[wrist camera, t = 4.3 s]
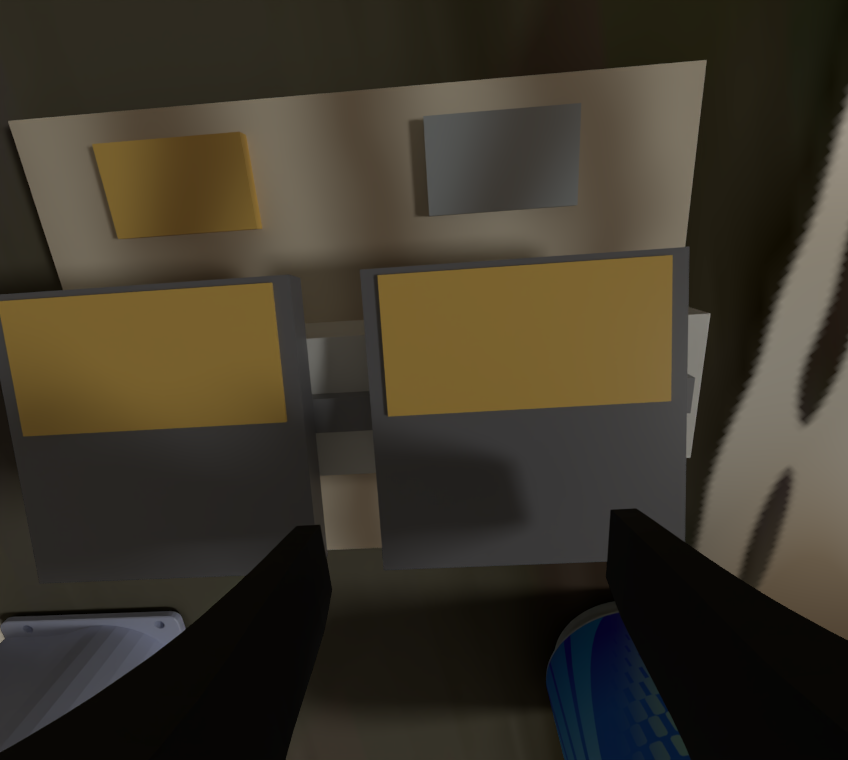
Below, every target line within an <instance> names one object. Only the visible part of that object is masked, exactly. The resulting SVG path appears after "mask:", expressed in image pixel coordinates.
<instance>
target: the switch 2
mask: <svg viewBox="0 0 848 760" xmlns="http://www.w3.org/2000/svg"><path fill="white" fill-rule="evenodd" d="M360 279H361V292H362V304H363V317H364V329H365V342H366V354H367V367H368V379H369V392H370V404H371V417H372V429H373V442H374V454H375V467H376V479H377V492H378V504H379V517H380V529H381V542H382V554H383V567H384V570H400V569H425V568H451V567H476V566H502V565H528V564H553V563H579V562H604V561H607V555H608V540H609V525H610V510H614V509H633V508H636V509H638V510H639V511H641V512H643V513H644V514H645V515H647V516H648V517H650V518H651V519H653V520H654V521H656V522H657V523H658V524H660V525H661V526H663V527H664V528H665V529H667V530H668V531H670V532H671V533H673V534H674V535H675V536H677V537H678V538H680V539H681V540H682V541H684V542H685V500H686V433H687V367H688V301H689V247H678V248H664V249H650V250H635V251H621V252H606V253H592V254H577V255H563V256H548V257H534V258H520V259H505V260H491V261H476V262H462V263H447V264H433V265H419V266H404V267H390V268H375V269H361V270H360Z"/></svg>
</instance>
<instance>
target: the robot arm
mask: <svg viewBox="0 0 848 760" xmlns="http://www.w3.org/2000/svg"><path fill="white" fill-rule="evenodd" d="M606 579H607V581H608V584H609V587H610V590H611V593H612V595H613V598H614V601H615V603H616V606H617V609H618V611H619V614H620V616H621V619H622V621H623V623H624V625H625V627H626V629H627V631H628V633H629V635H630V637H631V639H632V641H633V643H634V645H635V647H636V649H637V651H638V653H639V655H640V657H641V659H642V661H643V663H644V665H645V667H646V669H647V671H648V672H649V674H650V676H651V678H652V680H653V682H654V684H655V686H656V688H657V690H658V692H659V694H660V696H661V698H662V700H663V702H664V704H665V706H666V708H667V710H668V711H669V713H670V715H671V717H672V719H673V721H674V723H675V726H676V728H677V730H678V732H679V734H680V736H681V738H682V740H683V743H684V745H685V747H686V749H687V752H688V754H689V757H690V759H691V760H848V640H846V639H844V638H842V637H840V636H838V635H836V634H834V633H832V632H830V631H828V630H827V629H825V628H823V627H821V626H819V625H818V624H816V623H814V622H812V621H810V620H808V619H806V618H805V617H803V616H801V615H799V614H797V613H796V612H794V611H792V610H790V609H788V608H787V607H785V606H783V605H781V604H780V603H778V602H776V601H775V600H773V599H771V598H770V597H768V596H766V595H765V594H763V593H761V592H760V591H758V590H757V589H755V588H753V587H752V586H750V585H749V584H747V583H745V582H744V581H742V580H740V579H739V578H737V577H736V576H734V575H733V574H731V573H730V572H728V571H726V570H725V569H723V568H722V567H720V566H719V565H717V564H716V563H714V562H713V561H711V560H710V559H708V558H707V557H706V556H704V555H703V554H701V553H700V552H698V551H697V550H695V549H694V548H692V547H691V546H690V545H688V544H687V543H685V542H684V541H682V540H681V539H680V538H678V537H677V536H675V535H674V534H673V533H671V532H670V531H668V530H667V529H665V528H664V527H663V526H661V525H660V524H658V523H657V522H656V521H654V520H653V519H651V518H650V517H648V516H647V515H645V514H644V513H643V512H641V511H639V510H638V509H636V508H633V509H614V510H610V525H609V540H608V555H607V570H606ZM331 593H332V586H331V581H330V575H329V570H328V564H327V559H326V553H325V548H324V542H323V537H322V531H321V526H320V525H303V526H296V527H295V528H294V529H293V530H292V531H291V532H290V533H289V534H288V535H287V536H286V537H285V538H284V539H283V540H282V541H281V542H280V543H279V544H278V545H277V546H276V547H275V548H274V549H273V550H272V551H271V552H270V553H269V554H268V555H267V556H266V557H265V558H264V559H263V560H262V561H261V562H260V563H259V564H258V565H256V566H255V567H254V568H253V569H252V570H251V571H250V572H249V573H248V574H247V575H246V576H245V577H244V578H243V579H242V580H241V581H240V582H239V583H238V584H237V585H236V586H235V587H234V588H232V589H231V590H230V591H229V592H228V593H227V594H226V595H225V596H224V597H222V598H221V599H220V600H219V601H218V602H217V603H216V604H215V605H213V606H212V607H211V608H210V609H209V610H208V611H207V612H206V613H205V614H203V615H202V616H201V617H200V618H199V619H198V620H196V621H195V622H194V623H193V624H192V625H190V626H189V627H188V628H187V629H185V625H184V622H183V619H182V617H181V615H180V614H179V613H177V612H175V611H159V612H131V613H103V614H76V615H48V616H20V617H9V618H8V619H6V620H5V621H4V622H3V623H2V624H1V626H0V627H1V631H2V633H3V635H4V637H5V639H4V640H3V641H2V642H1V643H0V760H286V755H287V752H288V748H289V744H290V741H291V737H292V734H293V730H294V727H295V724H296V721H297V717H298V714H299V711H300V708H301V705H302V701H303V698H304V695H305V692H306V689H307V685H308V682H309V679H310V676H311V673H312V670H313V666H314V663H315V660H316V657H317V653H318V650H319V647H320V644H321V640H322V637H323V634H324V630H325V625H326V620H327V615H328V610H329V604H330V598H331Z"/></svg>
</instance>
